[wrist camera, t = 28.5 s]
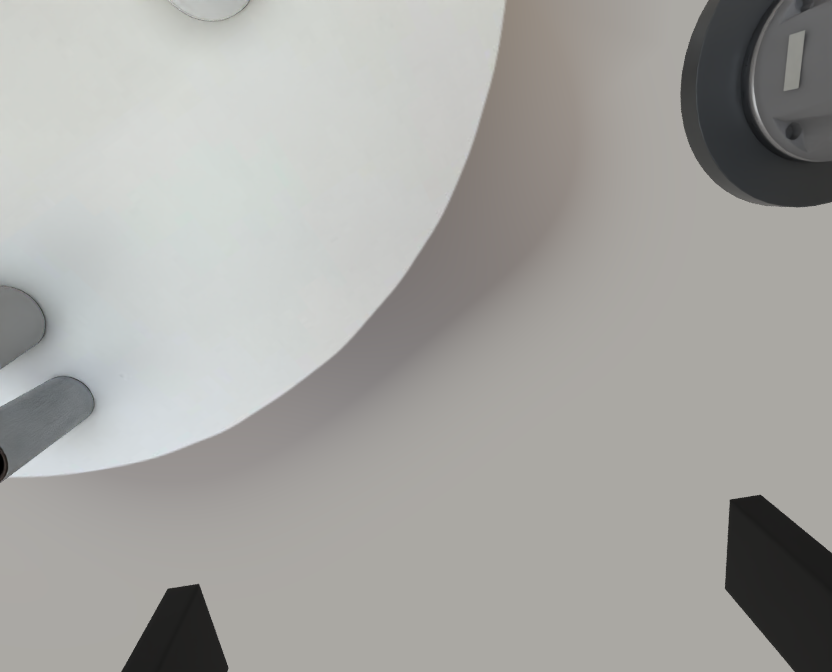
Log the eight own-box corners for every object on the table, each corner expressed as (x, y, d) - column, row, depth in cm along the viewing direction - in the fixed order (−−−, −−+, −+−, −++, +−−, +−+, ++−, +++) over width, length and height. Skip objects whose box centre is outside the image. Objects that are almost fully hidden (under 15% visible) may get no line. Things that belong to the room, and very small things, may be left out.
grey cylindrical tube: (40, 372, 42) (-67, 427, 32) (94, 379, 43) (5, 436, 33) (42, 418, 44) (-59, 485, 34) (95, 425, 44) (10, 492, 34)
